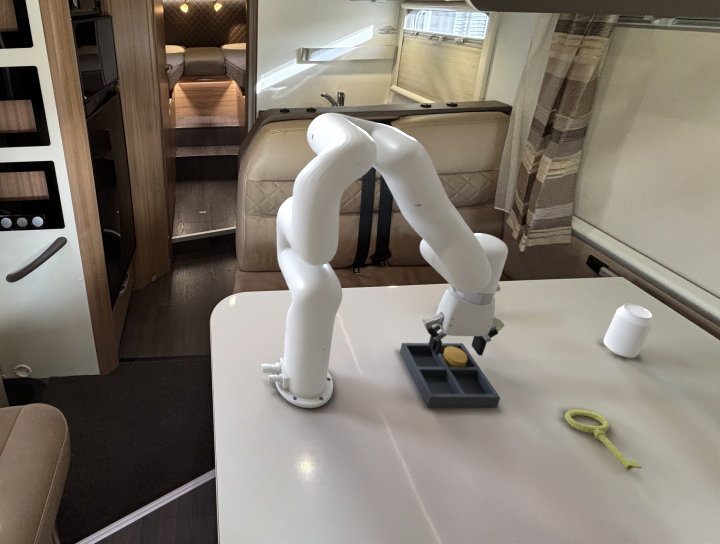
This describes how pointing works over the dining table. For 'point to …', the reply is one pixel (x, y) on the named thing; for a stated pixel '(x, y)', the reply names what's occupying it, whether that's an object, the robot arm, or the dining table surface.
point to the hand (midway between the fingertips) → (455, 350)
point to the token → (454, 357)
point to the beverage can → (628, 330)
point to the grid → (448, 378)
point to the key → (599, 434)
